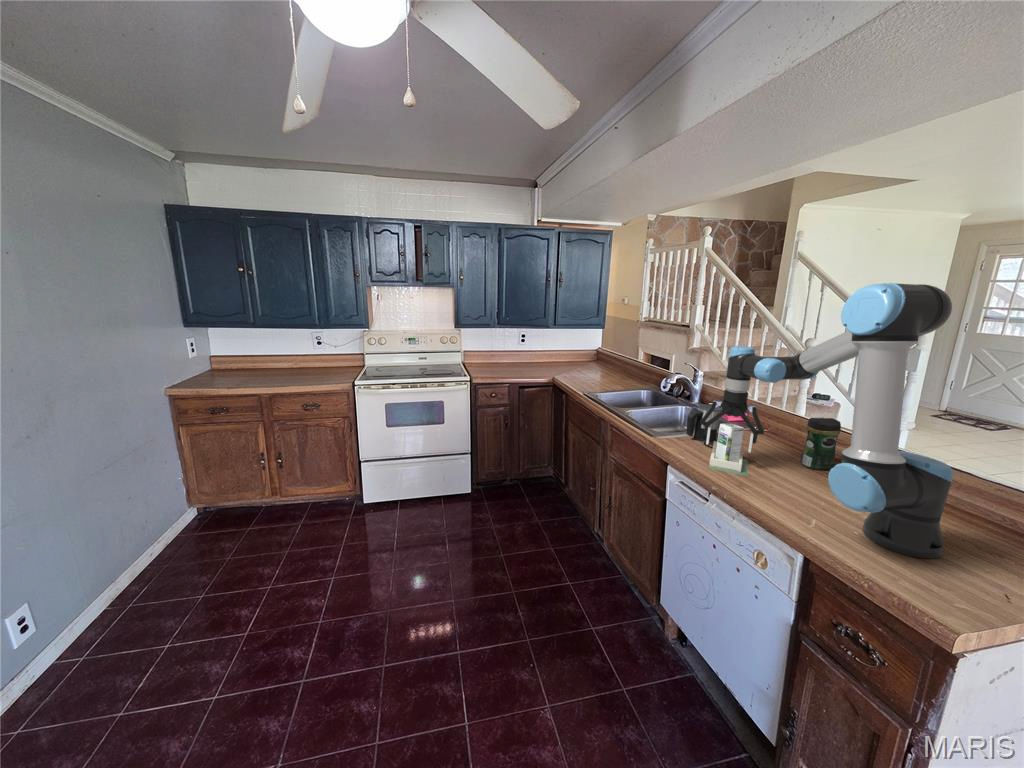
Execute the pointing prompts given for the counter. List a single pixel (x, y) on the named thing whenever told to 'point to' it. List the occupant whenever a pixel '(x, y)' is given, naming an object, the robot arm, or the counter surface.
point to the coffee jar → (821, 443)
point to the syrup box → (729, 442)
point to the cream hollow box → (723, 463)
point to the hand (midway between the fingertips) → (727, 447)
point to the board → (743, 471)
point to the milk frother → (699, 427)
